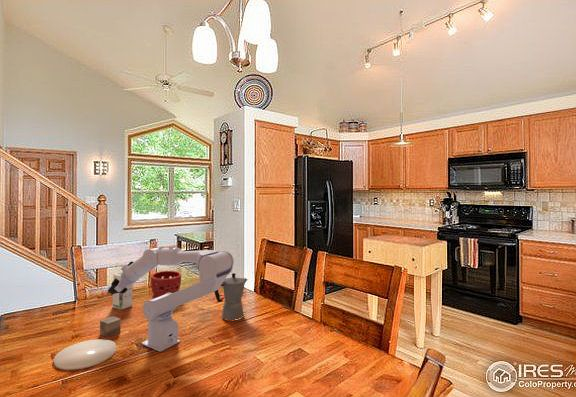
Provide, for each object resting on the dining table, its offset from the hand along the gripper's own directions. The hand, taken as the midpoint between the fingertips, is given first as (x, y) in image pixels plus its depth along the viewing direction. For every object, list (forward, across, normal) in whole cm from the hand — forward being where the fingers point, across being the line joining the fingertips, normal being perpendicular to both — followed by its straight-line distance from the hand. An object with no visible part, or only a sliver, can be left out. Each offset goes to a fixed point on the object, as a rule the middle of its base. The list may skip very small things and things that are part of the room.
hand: (116, 284), depth 113 cm
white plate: (+2, +23, +7) cm, 24 cm away
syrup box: (+24, -11, +12) cm, 29 cm away
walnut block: (+8, +10, +11) cm, 17 cm away
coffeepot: (-16, -9, +41) cm, 45 cm away
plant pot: (+16, -22, +24) cm, 36 cm away
